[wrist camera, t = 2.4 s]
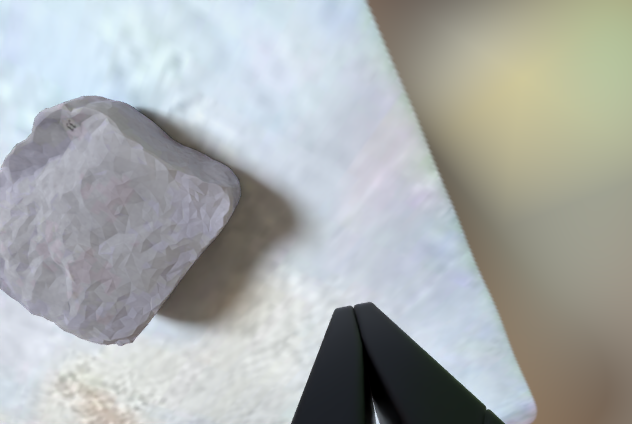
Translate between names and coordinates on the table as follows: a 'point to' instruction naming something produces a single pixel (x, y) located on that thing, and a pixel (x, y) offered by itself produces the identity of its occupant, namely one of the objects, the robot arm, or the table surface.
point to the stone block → (105, 217)
